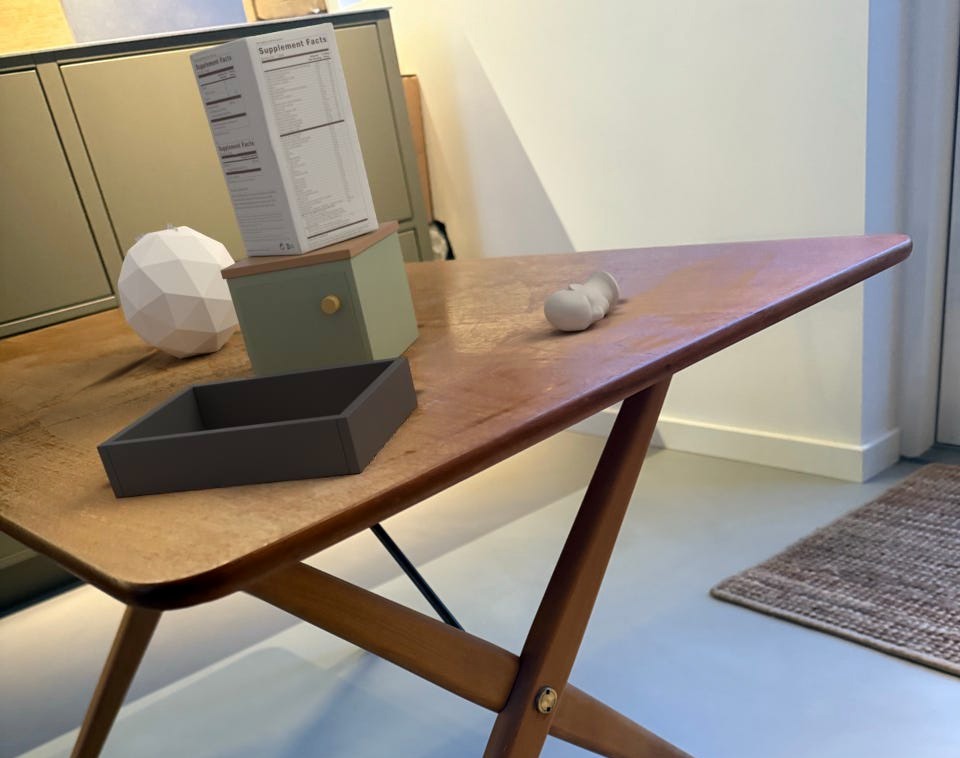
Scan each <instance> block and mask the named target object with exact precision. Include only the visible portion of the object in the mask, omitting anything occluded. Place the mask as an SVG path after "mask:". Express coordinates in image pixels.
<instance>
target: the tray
mask: <svg viewBox="0 0 960 758" xmlns="http://www.w3.org/2000/svg"><path fill="white" fill-rule="evenodd" d="M418 406H419V403H418V397H417V393H416V388H415V385H414V379H413V376H412V371H411V366H410V361H409V357H408V356H407V355H405V356H399V357H396V358H389V359H381V360H374V361H366V362H359V363H351V364H344V365H336V366H329V367H321V368H314V369H306V370H299V371H291V372H284V373H277V374H269V375H262V376H254V375H253V376H247V377H239V378H232V379H224V380H218V381H217V380H216V381H211V382H202V383H196V384H189V385H187V386H185V387H184V388H182V389H181V390H179V391H178V392H176V393H175V394H172V396H170V397H168V398H167V399H166V400H164V401H163V402H161V403H159V404H158V405H157V406H155V407H153V408H152V409H151V410H149V411H148V412H146V413H144V414H143V415H142V416H140V417H139V418H137V419H136V420H134V421H132V422H131V423H130V424H128V425H126V426H125V427H124V428H122V429H121V430H119V431H118V432H115V434H113V435H112V436H110V437H108V439H106V440H104V441H102V442H101V443H100V444H98V445H97V446H96V450H97V453H98V455H99V458H100V460H101V463H102V465H103V468H104V471H105V474H106V477H107V479H108V482H109V484H110V487H111V489H112V492H113V494H114V497H115V498H124V497H126V498H127V497H136V496H145V495H146V496H147V495H157V494H166V493H175V492H185V491H195V490H196V491H197V490H206V489H215V488H216V489H217V488H225V487H234V486H235V487H237V486H245V485H255V484H265V483H274V482H275V483H276V482H284V481H295V480H304V479H306V480H307V479H314V478H324V477H335V476H344V475H354V474H361V473H363V471H364V470H365V469H366V467H367V466H368V465H369V464H370V462H372V460H373V459H374V458H375V457H376V456H377V454H378V453H379V452H380V451H381V450H382V449H383V448H384V446H385V445H386V444H387V443H388V441H389V440H390V439H391V438H392V437H393V435H394V434H395V433H396V432H397V431H398V429H400V427H401V426H402V425H403V424H404V422H405V421H406V420H407V419H408V418H409V417H410V415H411V414H412V413H413V412H414V411H415V410H416V408H417V407H418Z"/></svg>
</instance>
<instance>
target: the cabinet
mask: <svg viewBox="0 0 960 758" xmlns="http://www.w3.org/2000/svg"><path fill="white" fill-rule="evenodd" d="M378 227H379V229H377V230H374V231H371V232H368V233H365V234H362V235H359V236H356V237H353V238H350V239H347V240H344V241H341V242H338V243H335V244H332V245H329V246H326V247H322V248H319V249H316V250H313V251H310V252H307V253H305V254H302V255H271V256H247V257H245V258H243V259H241V260H238V261H236V262H235V263H234V264H232V265H230V266H228V267H226V268H224V269H222V270H221V275H222V278H223V279H226V281H227V284H228V288H229V291H230V295H231V298H232V301H233V305H234V308H235V312H236V315H237V318H238V322H239V328H240V332H241V335H242V339H243V342H244V345H245V349H246V352H247V355H248V359H249V362H250V367H251V369H252V373H253V377H254V376H262V375H269V374H277V373H284V372H291V371H299V370H306V369H314V368H321V367H329V366H336V365H344V364H351V363H359V362H366V361H374V360H381V359H389V358H396V357H401V355H402V354H403V353H405V352H406V351H407V349H409V347H411V346H412V344H413V343H415V342H416V341H417V340H418V339H419V338H420V333H419V327H418V323H417V318H416V314H415V309H414V308H415V307H414V305H413V300H412V294H411V290H410V285H409V280H408V275H407V271H406V267H405V261H404V256H403V252H402V251H403V250H402V247H401V242H400V237H399V233H398V230H399V229H400V225H399V220H397V219H395V220H389V221H384V222H378Z"/></svg>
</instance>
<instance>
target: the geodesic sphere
mask: <svg viewBox="0 0 960 758" xmlns="http://www.w3.org/2000/svg"><path fill="white" fill-rule="evenodd" d="M166 227H167V229H162V230H158V231H153V232H150V231H147V233H146V234H145V233H140V234H139V235H138V236H136V238H135V237H134V240H135V244H133V245H132V246H131V247H130V248H129V249H128V250H127V252H126V253H125V256H124V260H123V262H122V264H121V269H120V273H119V277H118V282H117V285H116V286H117V292H118V296H119V300H120V301H119V302H120V304H121V305H120V306H121V308H122V312H123V315H124V318H125V322H126V323H127V325H128V326H129V327H130V328H131V329H132V331H134V332H135V334H137V336H138V337H139V338H140V339H141V341H143V342H144V343H146V344H148V345H149V346H152V347H155V348H156V349H159V350H161V351H163V352H165V353H168V354H170V355H172V356H174V357H176V358H178V359H181V360H182V359H185V358H186V359H187V358H190V357H195V356H201V355H206V354H211V353H215V352H219V351H220V350H221V349H222V347H223V346H224V345H225V344H226V343H227V341H228V340H229V339H230V338H231V337H232V336H233V335H234V333H235V332H236V331H237V330H238V328H240V325H239V322H238V318H237V315H236V312H235V308H234V305H233V301H232V298H231V295H230V291H229V288H228V284H227V281H226V279H223V278H222V275H221V270H222V269H224V268H226V267H228V266H230V265H232V264H234V263H236V262H235V260H234V259H233V257H232V256H231V253H229V251H228V250H227V248H226V247H225V245H224V244H223V243H222V242H220V241H218V240H216V239H214V238H211V237H209V236H207V235H205V234H203V233H201V232H199V231H197V230H195V229H193V228H191V227H189V226H186V225H182V226H177V227H176V226H173V224H172V223H171V222H170V223H169V221H167V223H166Z"/></svg>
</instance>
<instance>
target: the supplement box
mask: <svg viewBox="0 0 960 758" xmlns="http://www.w3.org/2000/svg"><path fill="white" fill-rule="evenodd" d="M340 55H341V54H340V51H339V48H338V42H337V38H336V34H335V29H334V25H333V23H332V22H324V23H320V24H315V25H309V26H303V27H297V28H291V29H285V30H279V31H275V32H269V33H264V34H259V35H254V36H253V35H252V36H247V37H242V38H238V39H234V40H232V41H227V42H225V43H222V44H219V45H215V46H212V47H209V48H205V49H201V50H198V51H195V52H193V53H191V54H189V60H190V64H191V67H192V68H191V69H192V72H193V74H194V78H195V82H196V85H197V89H198V91H199V96H200V99H201V102H202V105H203V109H204V113H205V115H206V120H207V123H208V126H209V129H210V133H211V136H212V140H213V143H214V147H215V150H216V153H217V157H218V161H219V164H220V167H221V171H222V175H223V178H224V181H225V185H226V188H227V191H228V195H229V199H230V202H231V205H232V209H233V212H234V216H235V218H236V219H235V220H236V222H237V225H238V230H239V233H240V237H241V240H242V243H243V247H244V250H245V253H246V256H247V257H249V256H271V255H302V254H305V253H307V252H310V251H313V250H316V249H319V248H322V247H326V246H329V245H332V244H335V243H338V242H341V241H344V240H347V239H350V238H353V237H356V236H359V235H362V234H365V233H368V232H371V231H374V230H377V229H379V227H378V223H379V222H378V219H377V214H376V210H375V206H374V202H373V201H374V200H373V196H372V193H371V188H370V183H369V179H368V174H367V171H366V166H365V162H364V158H363V153H362V149H361V144H360V140H359V135H358V132H357V125H356V123H355V117H354V113H353V109H352V104H351V99H350V96H349V91H348V87H347V81H346V78H345V73H344V69H343V65H342V60H341V56H340Z"/></svg>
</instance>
